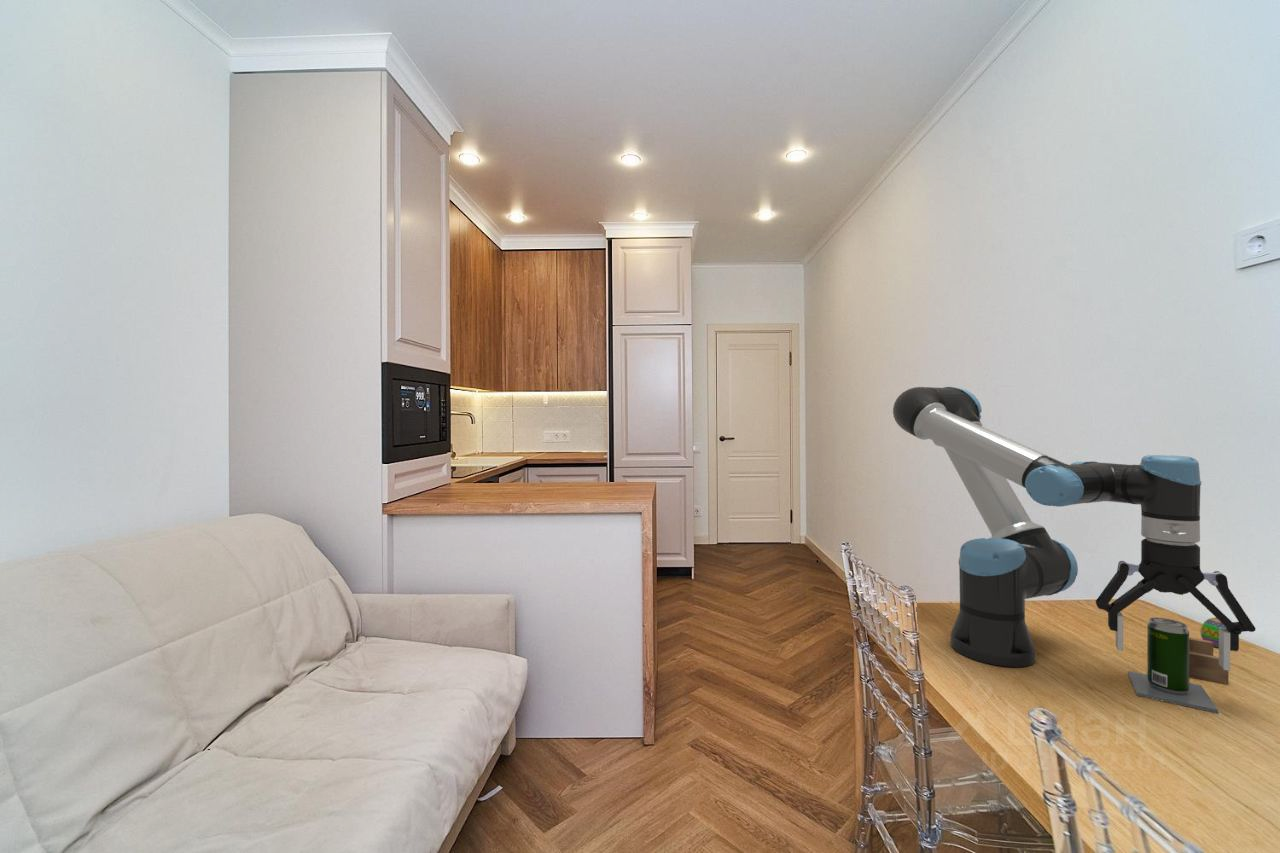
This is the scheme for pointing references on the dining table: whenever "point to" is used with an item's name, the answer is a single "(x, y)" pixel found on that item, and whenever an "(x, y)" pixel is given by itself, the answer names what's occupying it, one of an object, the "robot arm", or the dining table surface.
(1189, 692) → the coaster
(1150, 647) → the beer can
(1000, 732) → the dining table surface
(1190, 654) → the rack
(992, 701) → the dining table surface
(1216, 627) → the egg
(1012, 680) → the dining table surface
